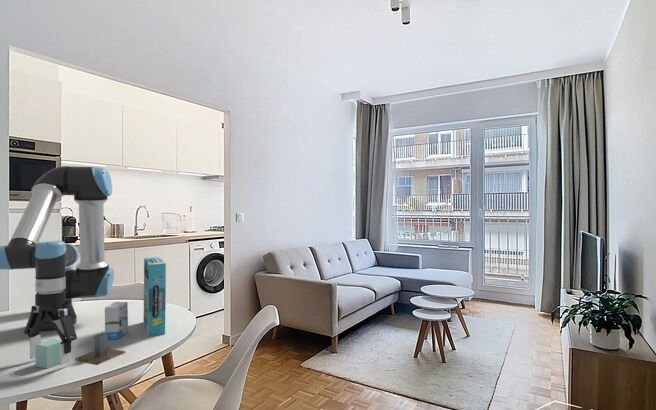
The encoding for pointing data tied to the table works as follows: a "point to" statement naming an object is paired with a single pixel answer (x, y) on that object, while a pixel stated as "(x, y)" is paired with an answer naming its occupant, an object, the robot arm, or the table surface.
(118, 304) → the ink box
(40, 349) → the mint foam cube
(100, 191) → the robot arm
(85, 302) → the table surface
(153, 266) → the game box
